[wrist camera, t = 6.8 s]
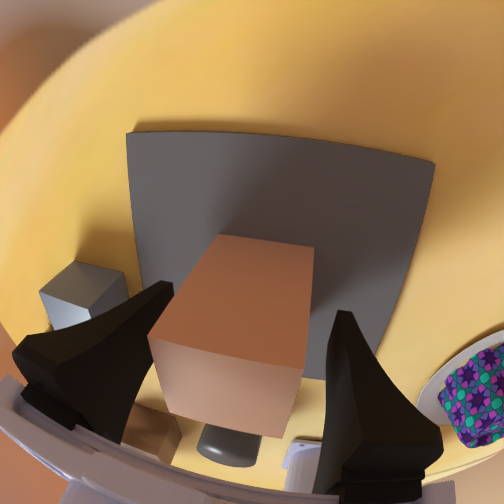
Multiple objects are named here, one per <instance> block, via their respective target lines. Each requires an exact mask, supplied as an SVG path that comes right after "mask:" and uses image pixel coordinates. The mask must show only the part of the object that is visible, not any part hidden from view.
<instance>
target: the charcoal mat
mask: <svg viewBox="0 0 504 504" xmlns="http://www.w3.org/2000/svg"><path fill="white" fill-rule="evenodd" d="M126 148H127V164H128V178H129V189H130V200H131V209H132V218H133V226H134V233H135V240H136V247H137V254H138V260H139V266H140V272H141V278H142V284H143V289H144V290H145V289H146V288H148V287H150V286H151V285H153V284H155V283H156V282H158V281H160V280H163V281H168V282H173V288H174V295H175V294H176V292H177V291H178V290H179V288H180V287H181V285H182V284H183V282H184V281H185V280H186V278H187V277H188V275H189V274H190V272H191V271H192V270H193V268H194V267H195V265H196V264H197V263H198V261H199V260H200V258H201V257H202V256H203V254H204V253H205V251H206V250H207V249H208V247H209V246H210V244H211V243H212V242H213V240H214V239H215V237H216V236H217V235H218V234H224V235H231V236H238V237H245V238H252V239H259V240H266V241H273V242H280V243H286V244H293V245H300V246H307V247H313V248H314V262H313V278H312V292H311V305H310V317H309V328H308V339H307V349H306V358H305V367H304V372H303V375H302V377H304V378H311V379H319V380H326V367H325V364H326V353H327V343H328V340H329V337H330V334H331V330H332V327H333V323H334V320H335V317H336V313H337V310H345V311H352V313H353V314H354V317H355V319H356V321H357V323H358V325H359V327H360V330H361V332H362V334H363V336H364V338H365V339H366V341H367V343H368V345H369V347H370V349H371V350H372V352H373V354H375V351H376V349H377V347H378V345H379V343H380V340H381V338H382V336H383V334H384V331H385V329H386V326H387V324H388V322H389V319H390V317H391V314H392V312H393V309H394V307H395V304H396V302H397V299H398V296H399V294H400V291H401V288H402V285H403V283H404V280H405V277H406V274H407V271H408V268H409V265H410V262H411V259H412V256H413V253H414V249H415V246H416V243H417V239H418V236H419V233H420V229H421V225H422V222H423V218H424V214H425V210H426V206H427V202H428V198H429V194H430V189H431V185H432V180H433V175H434V170H435V165H436V164H434V163H433V162H430V161H426V160H422V159H418V158H414V157H410V156H405V155H401V154H396V153H392V152H387V151H382V150H377V149H372V148H366V147H361V146H355V145H349V144H343V143H336V142H329V141H322V140H315V139H307V138H298V137H289V136H279V135H268V134H255V133H239V132H216V131H148V132H130V133H126Z"/></svg>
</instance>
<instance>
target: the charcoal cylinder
mask: <svg viewBox="0 0 504 504" xmlns="http://www.w3.org/2000/svg"><path fill="white" fill-rule="evenodd" d="M261 439H262V435H257V434H251V433H246V432H241V431H237V430H232V429H228V428H224V427H219V426H215V425H211V424H207V423H206V424H205V426H204V429H203V432H202V434H201V437H200V440H199V442H198V445H197V451H198V452H199V453H200V454H201V455H203V456H204V457H206V458H208V459H209V460H212V461H214V462H217V463H219V464H223V465H227V466H232V467H251V466H253V465H255V463H256V460H257V456H258V452H259V447H260V443H261Z"/></svg>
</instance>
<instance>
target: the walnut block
mask: <svg viewBox="0 0 504 504" xmlns="http://www.w3.org/2000/svg"><path fill="white" fill-rule="evenodd" d="M181 438H182V435H181V433H180V430H179V427H178V425H177V422H176V419H175V417H174V416H171V415H168V414H165V413H162V412H159V411H156V410H153V409H150V408H147V407H144V406H141V405H139V404H136V403H134V404H133V406H132V409H131V412H130V415H129V418H128V421H127V424H126V427H125V430H124V434H123V437H122V441H121V445H120V446H123V447H125V448H127V449H130V450H132V451H134V452H137V453H139V454H142V455H144V456H147V457H149V458H152V459H155V460H158V461H160V462H163V463H166V464H169V465H170V464H171V462H172V459H173V457H174V455H175V452H176V450H177V447H178V445H179V443H180V440H181Z"/></svg>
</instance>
